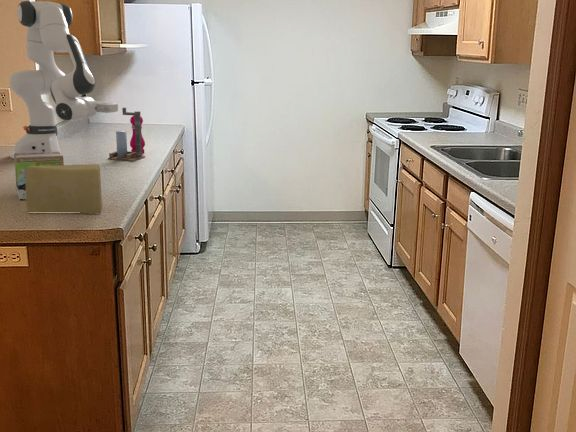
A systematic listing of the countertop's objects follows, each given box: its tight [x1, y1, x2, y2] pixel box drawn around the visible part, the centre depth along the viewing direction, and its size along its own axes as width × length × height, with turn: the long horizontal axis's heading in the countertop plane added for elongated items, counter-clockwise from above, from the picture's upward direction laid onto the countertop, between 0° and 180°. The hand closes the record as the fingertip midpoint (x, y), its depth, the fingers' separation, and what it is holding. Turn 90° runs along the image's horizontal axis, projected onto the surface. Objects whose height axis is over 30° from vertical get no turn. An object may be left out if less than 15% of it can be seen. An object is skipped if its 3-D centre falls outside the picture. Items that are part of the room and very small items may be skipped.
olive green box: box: [25, 163, 103, 214], centre depth 192 cm, size 22×10×15 cm, turn 102°
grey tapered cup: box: [115, 130, 128, 158], centre depth 283 cm, size 5×5×12 cm
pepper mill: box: [129, 115, 146, 155], centre depth 297 cm, size 7×7×20 cm
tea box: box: [13, 152, 65, 200], centre depth 212 cm, size 15×10×15 cm
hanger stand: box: [107, 107, 146, 162], centre depth 282 cm, size 12×13×23 cm
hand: (103, 104), depth 268 cm, fingers open, 8 cm apart
